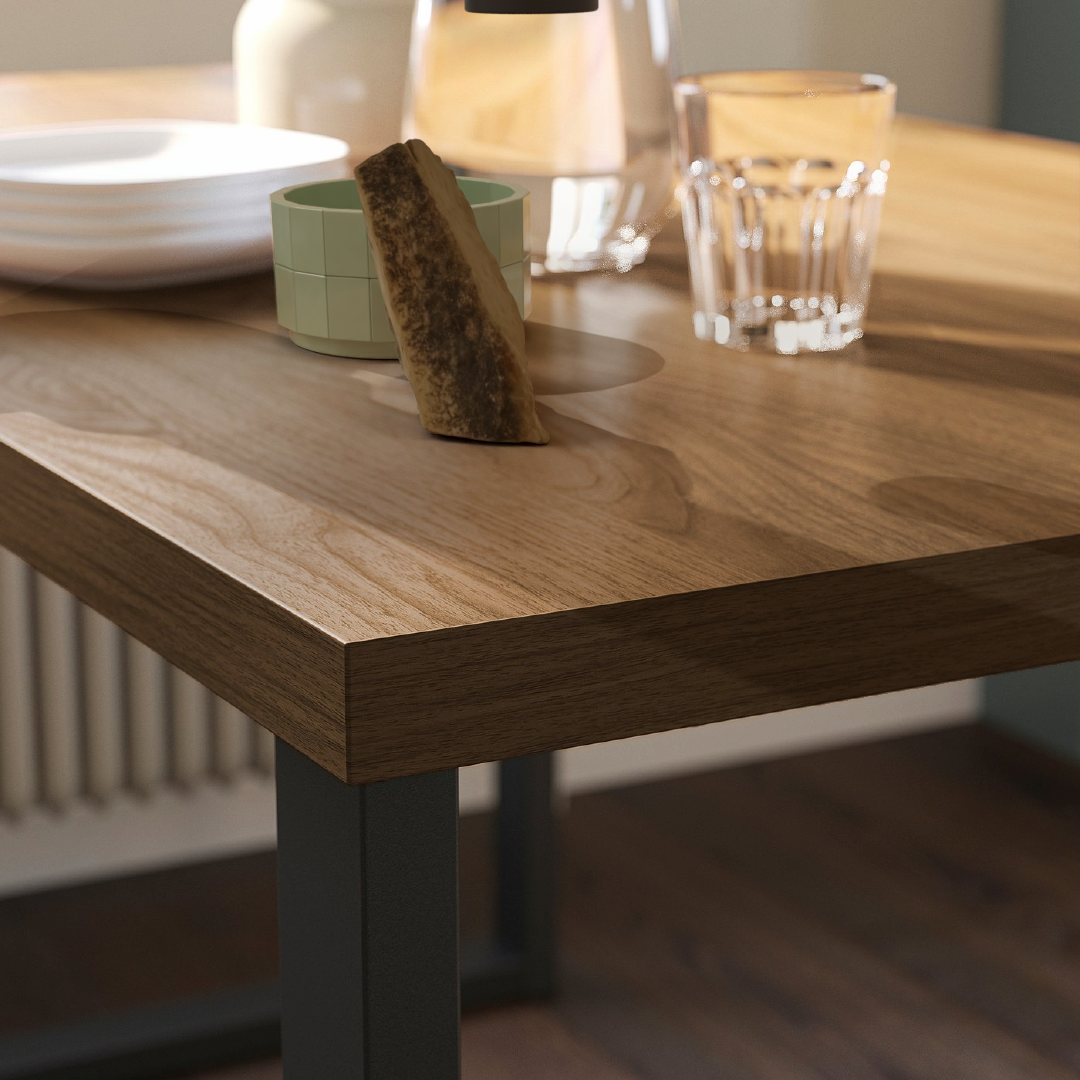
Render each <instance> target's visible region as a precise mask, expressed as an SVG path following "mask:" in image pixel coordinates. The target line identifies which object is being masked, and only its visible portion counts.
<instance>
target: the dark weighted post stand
mask: <svg viewBox="0 0 1080 1080" xmlns="http://www.w3.org/2000/svg"><path fill="white" fill-rule="evenodd" d="M463 5H464V6H463V7H464V11H465V12H467V13H471V14H480V15H481V14H483V15H564V14H565V15H566V14H585V13H593V12H596V11H598V10H599V5H600V3H599V0H464V1H463Z"/></svg>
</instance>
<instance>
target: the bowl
mask: <svg viewBox="0 0 1080 1080" xmlns="http://www.w3.org/2000/svg"><path fill="white" fill-rule="evenodd" d="M455 177H456V180H457V185H458V187H459V188H460V189H461V190H462V191H463V193H464V195H465V197H466V199H467V200H468V202H469V203H470V206H471V208H472V210H473V213H474V216H475V220H476V225H477V228H478V230H479V232H480V235H481V237H482V239H483V241H484V242H485V244H486V246H487V248H488V249H489V251H490V252H491V254H492V255H493V256H494V257H495V258H496V260H497V262H498V265H499V268H500V272H501V274H502V275H503V277H504V279H505V281H506V283H507V287H508V289H509V291H510V292H511V294H512V295H513V297H514V299H515V301H516V303H517V306H518V309H519V313H520V315H521V317H522V320H523V323H524V322H525V321H526V320H527V318H528V317H529V316H530V315H531V313H532V254H531V250H532V241H531V240H532V237H531V234H532V233H531V223H532V222H531V191H530V190H529V189H528V188H526V187H525V186H524V185H522V184H518V183H514V182H510V181H506V180H501V179H492V178H483V177H474V176H461V175H460V176H459V175H455ZM268 201H269V203H268V204H269V218H270V234H271V235H270V237H271V250H272V251H271V252H272V269H273V270H272V271H273V284H274V285H273V286H274V287H273V288H274V305H275V316H276V321H277V325H279V326H280V327H283V328H285V329H287V330H288V334H289V339H290V340H291V342H292V343H293V344H294V345H296V346H298V347H300V348H303V349H305V350H308V351H311V352H315V353H319V354H324V355H330V356H337V357H344V358H354V359H367V360H369V359H371V360H399V358H398V355H397V351H396V347H395V343H396V340H395V337H394V335H393V334H392V332H391V330H390V327H389V322H388V319H387V315H386V311H385V305H384V302H383V295H382V291H381V287H380V283H379V279H378V274H377V271H376V268H375V261H374V257H373V255H372V253H371V249H370V243H369V239H368V234H367V229H366V225H365V220H364V216H363V213H362V204H361V200H360V198H359V195H358V190H357V185H356V180H355V177H354V176H353V177H346V178H345V177H342V178H334V179H324V180H317V181H309V182H304V183H297V184H295V185H290V186H285V187H281V188H280V189H277V190H276V191H273V192H272V193H269V194H268Z"/></svg>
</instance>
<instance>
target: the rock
mask: <svg viewBox="0 0 1080 1080" xmlns="http://www.w3.org/2000/svg"><path fill="white" fill-rule="evenodd" d="M455 176H456V175H455V172H454V170H453V169H452V168H449V167H447V166H446V165H445V163H443V160H442V158H441V156H440V155H438V154H435V153H434V152H433V151H432V149H431V148H430V146H429V145H427V143H426V142H425V141H424V140H422V139H420V138H410V139H407V140H406V141H405V142H404V143H403V142H396V143H392V144H391V145H388V146H387V147H386V148H383V150H381V151H380V152H378V153H375V154H372V155H371V156H369V157H368V158H366V159H365V160H363V161H362V162H361V163H359V164H358V165H357V166H354V167H353V178H354V177H355V180H356V185H357V190H358V195H359V198H360V200H361V204H362V213H363V216H364V220H365V225H366V229H367V234H368V239H369V243H370V249H371V253H372V255H373V257H374V261H375V268H376V271H377V274H378V279H379V283H380V287H381V291H382V295H383V302H384V305H385V311H386V315H387V319H388V322H389V327H390V330H391V332H392V334H393V335H394V337H395V340H396V343H395V347H396V351H397V355H398V358H399V359H398V362H399V364H400V367H401V370H402V372H403V374H404V376H405V377H406V379H407V381H408V382H409V384H410V387H411V389H412V391H413V393H414V396H415V399H416V405H417V408H416V409H417V411H418V417H419V422H420V427H421V428H422V430H425V431H427V433H430V434H432V435H442V436H446V437H457V438H461V439H462V438H466V439H470V440H473V441H480V442H481V441H482V442H491V443H492V442H493V443H513V444H514V443H516V444H518V443H525V442H526V443H532V444H539V445H544V444H546V443H549V441H550V440H551V433H549V432H548V430H546V429H545V428H544V427H543V426H542V423H541V421H540V419H539V414H537V412H538V409H537V407H536V401H535V394H534V386H533V382H532V381H531V379H530V377H529V374H528V367H529V366H528V365H529V362H528V358H527V356H526V347H525V346H526V332H525V324H524V322H523V320H522V317H521V315H520V313H519V309H518V306H517V303H516V301H515V299H514V297H513V295H512V294H511V292H510V291H509V289H508V287H507V283H506V281H505V279H504V277H503V275H502V274H501V272H500V268H499V265H498V262H497V260H496V258H495V257H494V256H493V255H492V254H491V252H490V251H489V249H488V248H487V246H486V244H485V242H484V241H483V239H482V237H481V235H480V232H479V230H478V228H477V225H476V220H475V216H474V213H473V210H472V208H471V206H470V203H469V202H468V200H467V199H466V197H465V195H464V193H463V191H462V190H461V189H460V188H459V187H458V185H457V180H456V177H455Z"/></svg>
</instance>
